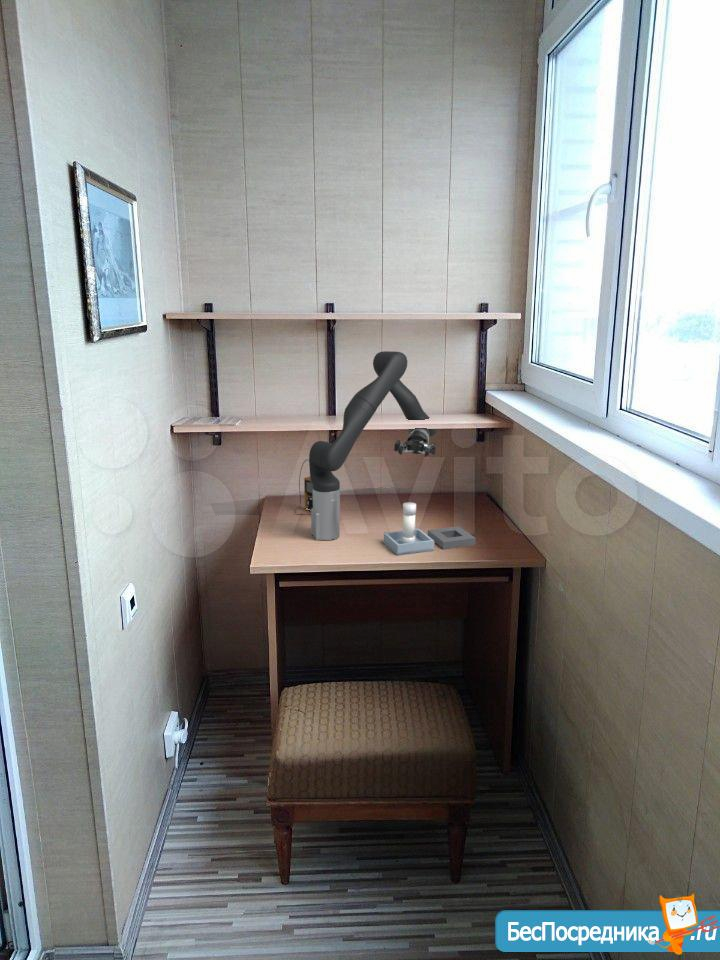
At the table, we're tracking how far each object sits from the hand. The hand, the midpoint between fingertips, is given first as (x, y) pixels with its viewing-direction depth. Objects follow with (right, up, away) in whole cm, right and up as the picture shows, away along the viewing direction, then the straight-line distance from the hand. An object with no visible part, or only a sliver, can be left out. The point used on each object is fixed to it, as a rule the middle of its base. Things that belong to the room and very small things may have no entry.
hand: (413, 452), depth 228 cm
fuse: (-2, -31, -2) cm, 31 cm away
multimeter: (-38, -22, +29) cm, 53 cm away
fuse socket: (+13, -30, +3) cm, 33 cm away
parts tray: (-2, -31, -2) cm, 31 cm away
